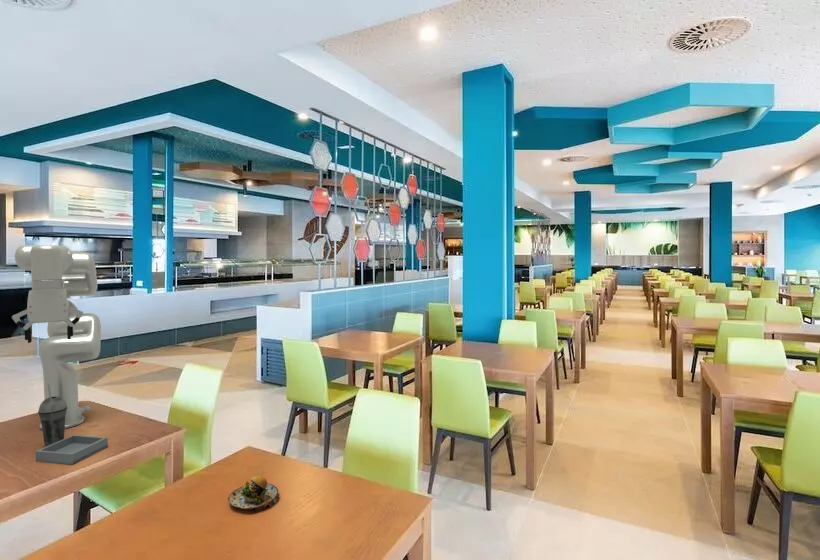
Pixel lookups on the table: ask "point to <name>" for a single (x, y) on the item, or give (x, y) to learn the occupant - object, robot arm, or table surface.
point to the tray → (71, 449)
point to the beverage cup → (52, 418)
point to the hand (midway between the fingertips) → (49, 340)
